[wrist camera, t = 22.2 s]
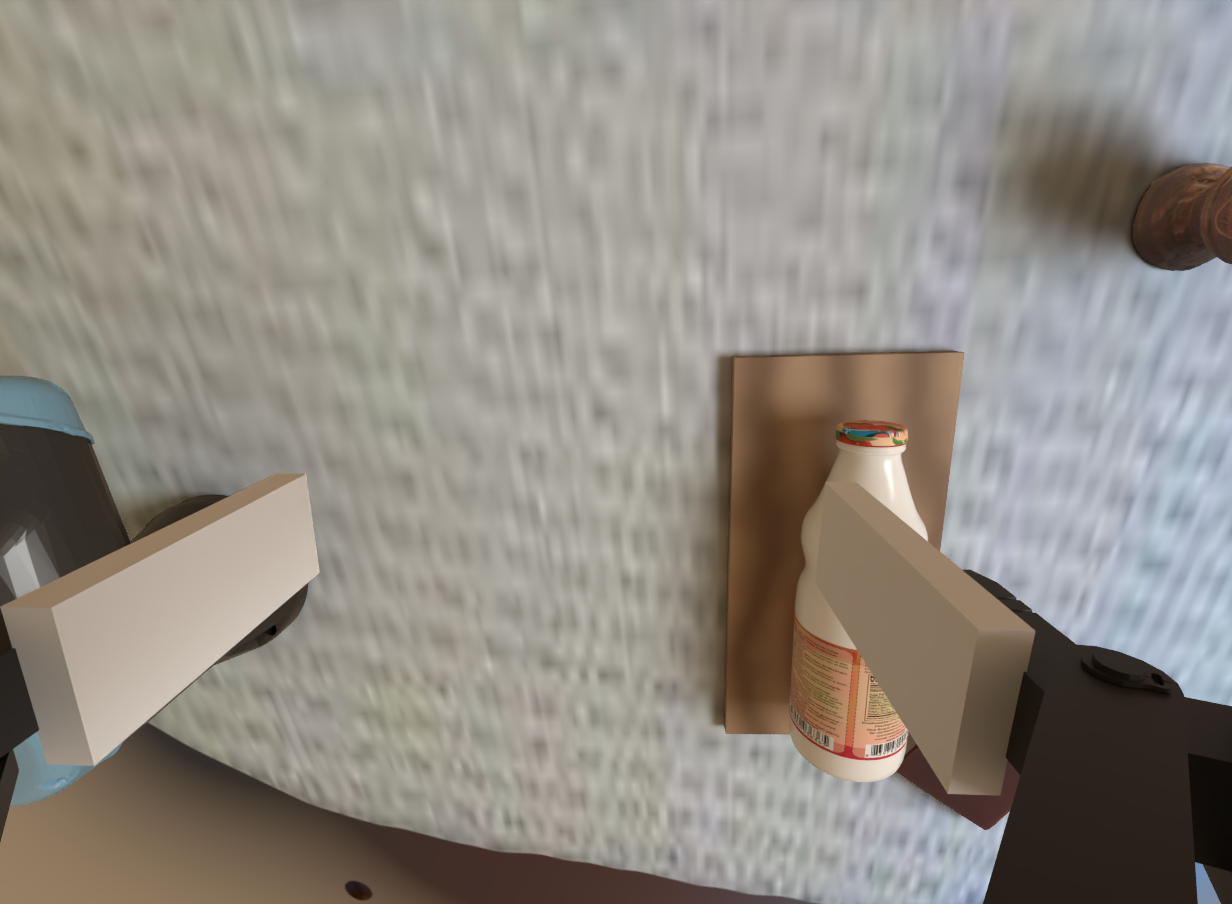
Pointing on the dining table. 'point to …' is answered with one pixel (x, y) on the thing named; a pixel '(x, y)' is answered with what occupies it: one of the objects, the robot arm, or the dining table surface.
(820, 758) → the fruit juice
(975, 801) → the book
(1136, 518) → the dining table surface
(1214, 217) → the mortar and pestle
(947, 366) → the walnut board
